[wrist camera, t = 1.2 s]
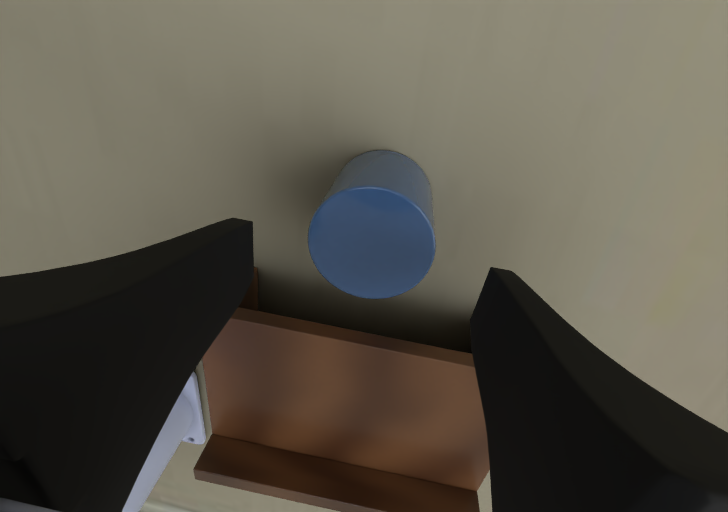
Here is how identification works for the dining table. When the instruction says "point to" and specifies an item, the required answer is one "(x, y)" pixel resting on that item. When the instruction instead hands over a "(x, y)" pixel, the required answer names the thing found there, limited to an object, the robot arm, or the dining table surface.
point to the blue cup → (375, 227)
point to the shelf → (341, 417)
